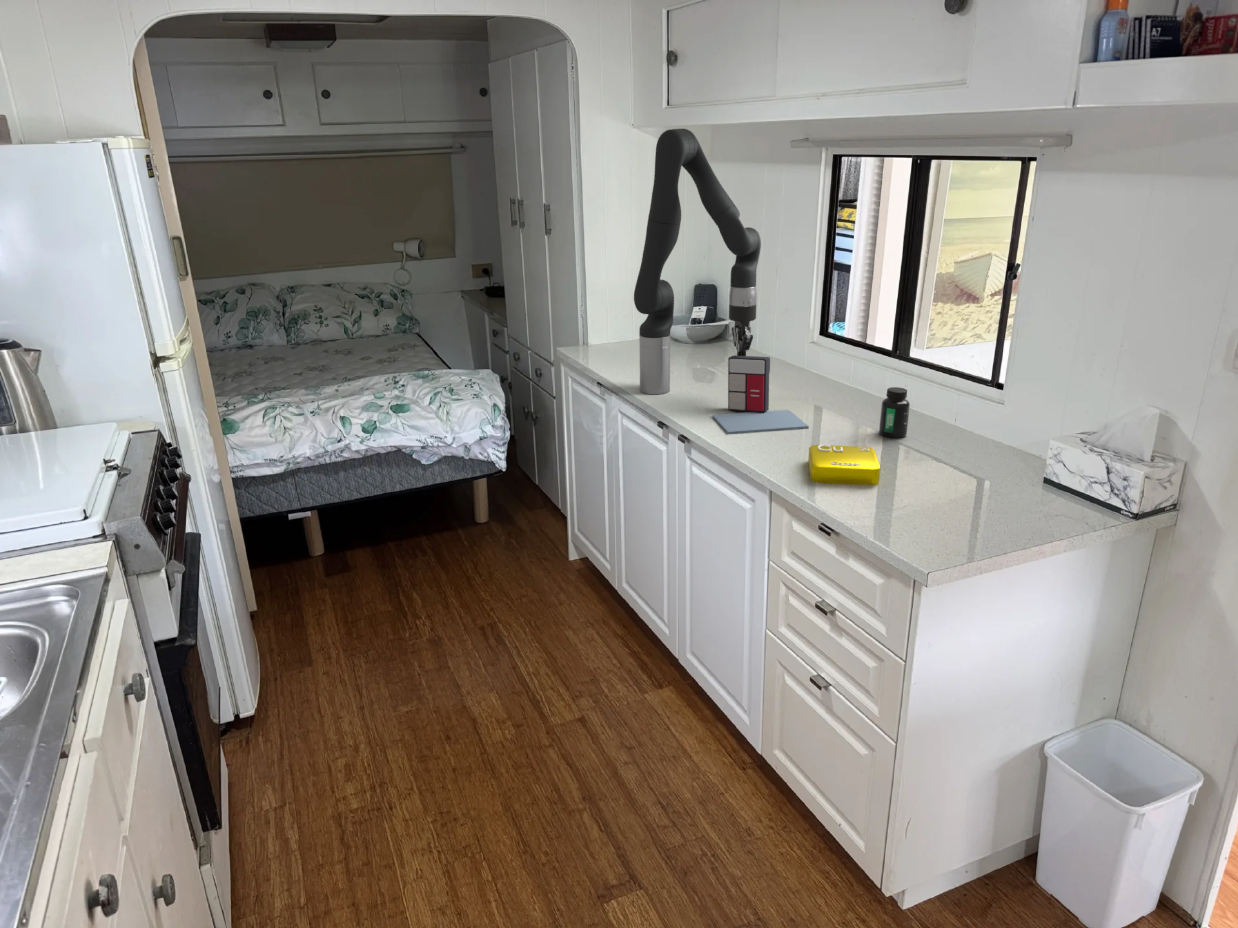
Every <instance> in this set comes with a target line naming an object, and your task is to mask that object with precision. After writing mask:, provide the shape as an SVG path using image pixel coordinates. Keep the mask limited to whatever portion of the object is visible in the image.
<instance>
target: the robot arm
mask: <svg viewBox="0 0 1238 928" xmlns="http://www.w3.org/2000/svg"><path fill="white" fill-rule="evenodd" d="M656 141H657V142H656V147H655V157H654V175H653V176H654V177H653V185H652V186H653V187H652V192H651V198H650V199H651V200H650V206H649V213H648V218H647V223H646V224H647V225H646V231H645V232H646V233H645V239H644V244H643V245H644V247H643V251H642V258H641V263H640V267H639V271H638V275H637V279H636V281H635V282H636V283H635V287H634V290H633V291H634V292H633V302H634V307H635V309H636V310H637V312H639V313H640V314H642V315H646V316H647V317H646V319H645V320H644V321H643V322H642V323H641V324H640V326H639V331H638V333H639V334H638V335H639V391H640V392H641V393H643V394H646V395H661V394H666V393H669V392H670V391H671V329H672V327H673V324H674V315H675V314H674V308H675V293H674V289H673V288H672V285H671V284H670V283H669V282H668V281H667V280H665V279H661V277H662V273H663V269H664V266H665V264H666V262H667V261H668V259H669V257H670V255H671V253H672V251H673V250H674V248H675V246H676V244H677V242H678V239H679V235H680V230H681V221H682V206H681V201H680V197H679V180H680V174H681V170H682V168H684V170H686V172H687V173H688V174H689V176H690V177H691V179H692V181H693V182H694V184H695V187H696V188H697V192H698V195H699V198H700V200H701V201H700V202H701V204H702V205H703V207H704V209H705V211H706V213H707V214H708V215H709V216H710V218H711V219H712V221H713V222H714V224H715V225H716V226H717V228H718V231H719V233H720V236H721V238H722V239H723V242H724V243H725V246H726V247H727V249H728V250H729V251H730V252H731V253H732V254H733V255H735V262H734V264H733V265H732V267H731V269H730V285H729V287H730V290H729V297H728V298H729V299H728V300H729V301H728V302H729V304H728V318H729V320H730V321H733V322H734V326H732V327H731V334H732V340H733V346H734V348H735V350H736V356H747V352H748V351H749V350H750V348H751V345H752V342H753V339H754V335H753V334H751V333H752V327H751V324H750V323H751V322H753V321H755V320H756V319H757V299H758V296H757V269H758V263H759V259H760V254H761V248H762V241H761V239H762V238H761V235H760V233H759V232H758V231H757V230H756V229H755V228H753V227H751V226H750V227H749V226H747V227H744V225H743V223H742V221H741V219H740V216H741V215H740V210H739V209H738V207H737V206H736V205H735V203H734V201H733V200H732V199H731V197H730V196H729V194H728V193H727V191H726V190H725V189H724V187H723V186H722V184H721V182H720V181H719V179H718V177H717V175H716V173H715V172H714V170H713V168H712V167H711V166H712V165H711V164H710V162H709V160H708V159H707V157H706V154H705V152H704V151H703V148H702V146H701V144H700V142H699V140H698V139H697V137H696V135H695V134H694V133H693V132H692V131H691V130H690V129H687V128H672V129H667V130H665V131H663V132H662V133H661V134H660V136H659V137H658V140H656Z"/></svg>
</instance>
